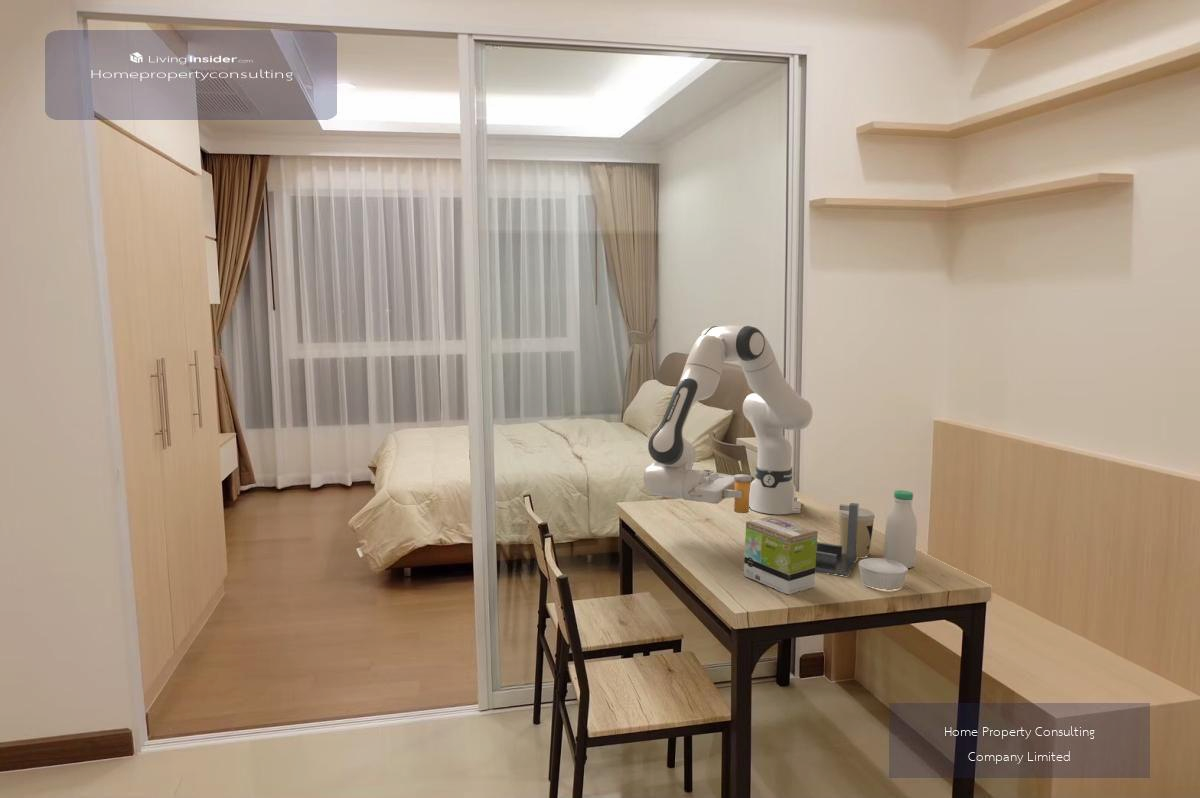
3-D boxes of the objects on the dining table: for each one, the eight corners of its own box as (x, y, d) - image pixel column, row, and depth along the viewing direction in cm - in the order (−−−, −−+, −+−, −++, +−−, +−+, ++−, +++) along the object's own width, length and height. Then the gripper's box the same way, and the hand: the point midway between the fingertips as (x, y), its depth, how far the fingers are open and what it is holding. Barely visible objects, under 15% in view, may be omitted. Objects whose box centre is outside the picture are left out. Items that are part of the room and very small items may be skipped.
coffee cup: (874, 560, 209) (877, 517, 208) (838, 557, 211) (841, 514, 210) (869, 549, 219) (871, 508, 217) (834, 547, 220) (837, 506, 219)
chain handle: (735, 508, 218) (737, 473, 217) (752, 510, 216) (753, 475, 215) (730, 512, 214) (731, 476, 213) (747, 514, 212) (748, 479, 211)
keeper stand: (815, 553, 214) (819, 492, 212) (858, 560, 209) (862, 498, 207) (803, 569, 201) (807, 505, 199) (849, 577, 196) (853, 511, 194)
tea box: (742, 577, 195) (744, 520, 193) (769, 569, 200) (772, 514, 199) (788, 596, 183) (791, 535, 181) (815, 588, 188) (819, 529, 186)
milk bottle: (916, 571, 201) (922, 496, 199) (885, 568, 203) (890, 494, 200) (911, 561, 209) (916, 489, 206) (881, 559, 210) (886, 487, 208)
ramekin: (915, 588, 189) (917, 568, 189) (886, 597, 183) (888, 576, 183) (877, 574, 199) (878, 555, 198) (848, 582, 193) (849, 562, 192)
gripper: (685, 482, 211) (734, 489, 204) (710, 468, 229) (755, 474, 222) (684, 505, 211) (733, 512, 205) (709, 489, 229) (754, 495, 223)
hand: (745, 492), depth 214 cm, fingers closed on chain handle, 4 cm apart
